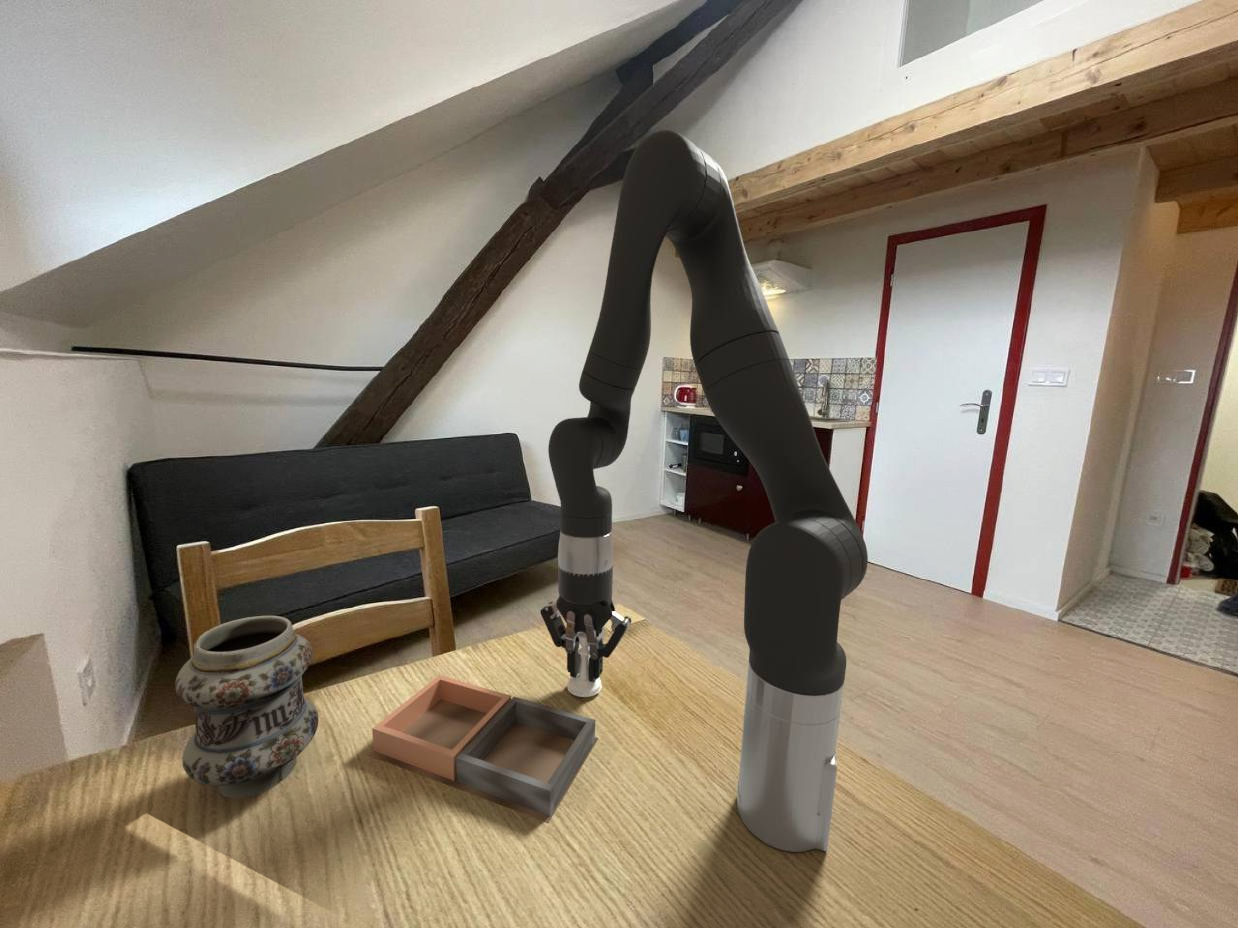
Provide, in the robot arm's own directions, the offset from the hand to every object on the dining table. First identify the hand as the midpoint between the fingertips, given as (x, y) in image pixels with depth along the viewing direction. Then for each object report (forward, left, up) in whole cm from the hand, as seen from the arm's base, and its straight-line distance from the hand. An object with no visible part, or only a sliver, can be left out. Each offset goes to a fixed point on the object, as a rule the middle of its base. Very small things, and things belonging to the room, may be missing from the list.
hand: (584, 676), depth 72 cm
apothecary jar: (+27, +28, -4) cm, 39 cm away
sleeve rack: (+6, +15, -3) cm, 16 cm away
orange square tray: (+12, +15, -2) cm, 19 cm away
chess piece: (0, 0, -2) cm, 2 cm away
